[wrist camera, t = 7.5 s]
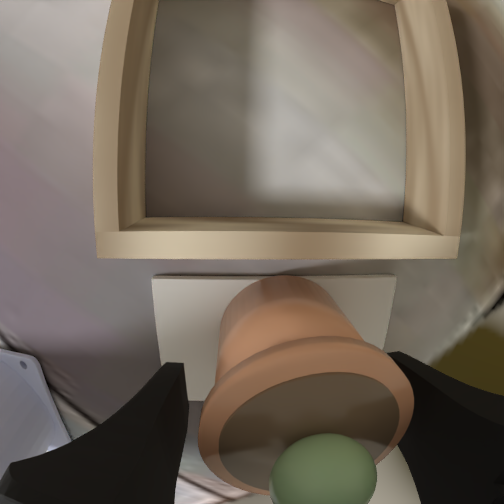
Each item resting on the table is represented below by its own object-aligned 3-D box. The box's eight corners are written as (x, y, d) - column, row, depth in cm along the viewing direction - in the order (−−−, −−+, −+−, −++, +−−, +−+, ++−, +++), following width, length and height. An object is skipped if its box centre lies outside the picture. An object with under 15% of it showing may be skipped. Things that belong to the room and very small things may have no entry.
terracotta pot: (215, 387, 13) (205, 563, 5) (209, 267, 12) (163, 452, 3) (337, 381, 13) (406, 534, 5) (354, 266, 12) (503, 398, 4)
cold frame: (127, 238, 11) (97, 258, 9) (147, -27, 9) (130, -64, 6) (415, 240, 12) (456, 258, 9) (406, -3, 9) (437, -28, 6)
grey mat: (168, 394, 13) (167, 399, 13) (153, 275, 12) (151, 278, 11) (369, 385, 14) (372, 389, 14) (392, 274, 13) (397, 277, 12)
